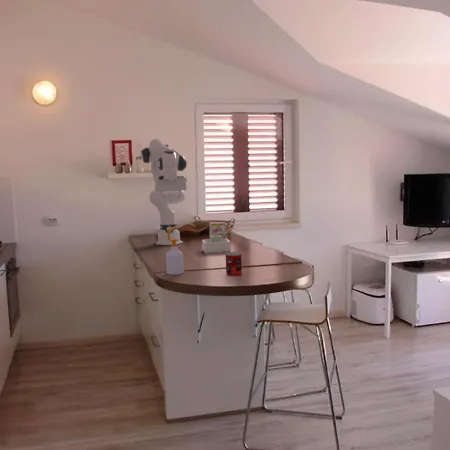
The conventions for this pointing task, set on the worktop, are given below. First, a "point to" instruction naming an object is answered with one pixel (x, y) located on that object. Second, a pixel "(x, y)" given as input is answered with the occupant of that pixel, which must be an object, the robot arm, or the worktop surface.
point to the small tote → (215, 238)
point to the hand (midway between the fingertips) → (171, 198)
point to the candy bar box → (217, 229)
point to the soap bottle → (174, 257)
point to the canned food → (233, 264)
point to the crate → (216, 246)
